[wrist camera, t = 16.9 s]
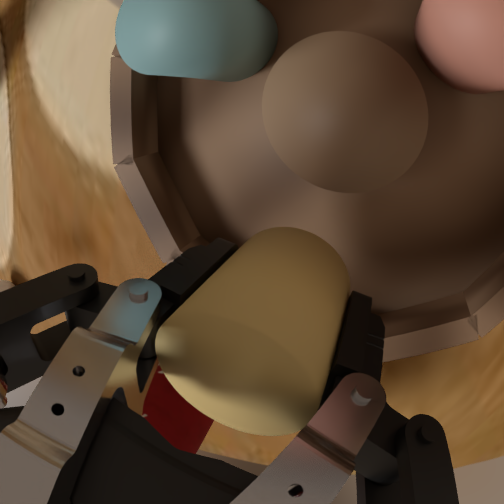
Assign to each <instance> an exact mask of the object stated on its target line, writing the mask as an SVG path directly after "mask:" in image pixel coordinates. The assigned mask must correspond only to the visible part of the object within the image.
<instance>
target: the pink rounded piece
mask: <svg viewBox="0 0 504 504" xmlns="http://www.w3.org/2000/svg"><path fill="white" fill-rule="evenodd" d="M414 37H415V42H416V45H417V48H418V51H419V53H420V55H421V57H422V59H423V60H424V62H425V63H426V65H427V66H428V68H429V69H430V70H431V71H432V72H433V73H434V74H435V75H436V76H437V77H438V78H439V79H440V80H442V81H443V82H444V83H446V84H447V85H449V86H450V87H452V88H454V89H456V90H459V91H462V92H465V93H470V94H483V93H489V92H496V91H503V90H504V0H423V1H422V4H421V6H420V9H419V11H418V14H417V17H416V19H415V24H414Z"/></svg>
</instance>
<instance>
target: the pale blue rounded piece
mask: <svg viewBox="0 0 504 504" xmlns="http://www.w3.org/2000/svg"><path fill="white" fill-rule="evenodd" d="M115 37H116V44H117V48H118V51H119V54H120V56H121V57H122V59H123V60H124V62H125V63H126V64H127V65H128V66H129V67H130V68H132V69H133V70H135V71H137V72H139V73H142V74H146V75H159V76H174V77H186V78H197V79H206V80H214V81H222V82H235V81H240V80H243V79H246V78H248V77H250V76H252V75H254V74H256V73H257V72H258V71H260V70H261V69H262V68H263V67H264V66H265V65H266V64H267V63H268V61H269V60H270V59H271V57H272V55H273V53H274V51H275V49H276V45H277V41H278V29H277V24H276V21H275V19H274V17H273V15H272V14H271V12H270V11H269V10H268V9H267V8H266V7H265V6H264V5H262V4H261V3H260V2H259V1H257V0H124V1H123V3H122V5H121V8H120V10H119V13H118V17H117V21H116V28H115Z"/></svg>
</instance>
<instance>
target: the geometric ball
mask: <svg viewBox="0 0 504 504" xmlns="http://www.w3.org/2000/svg"><path fill="white" fill-rule="evenodd" d="M14 286H15V285H14V284H13V283H12V282H11V281H6V280H2V279H0V292H2V291H4V290H7V289H9V288H12V287H14Z"/></svg>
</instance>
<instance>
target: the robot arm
mask: <svg viewBox="0 0 504 504" xmlns="http://www.w3.org/2000/svg"><path fill="white" fill-rule="evenodd" d="M237 250H238V245H237V244H235V243H232V242H230V241H227V240H224V239H222V238H219V237H218V238H216V239H215V240H214V241H213V242H211V243H210V244H209V245H208V246H203V245H198V246H195V247H192V248H189V249H187V250H186V251H185V252H183V253H182V254H181V255H180V257H179V256H178V257H177V258H175V259H174V260H173V262H170V263H169V264H168V265H166V266H165V267H164V268H162V269H161V270H160V271H159V272H157V273H156V274H155V275H153V276H152V277H151V278H150V279H148V280H147V279H142V278H135V279H130V280H127V281H124V282H123V283H121V284H120V285H119V286H113V285H109V284H106V283H102V282H98V276H97V271H96V270H95V269H94V268H93V267H92V266H90V265H87V264H72V265H69V266H66V267H64V268H61V269H58V270H56V271H53V272H50V273H48V274H45V275H42V276H40V277H37V278H35V279H32V280H29V281H27V282H24V283H22V284H19V285H17V286H14V287H12V288H9V289H7V290H4V291H2V292H0V504H331V502H332V501H333V500H334V498H335V497H336V495H337V494H338V493H339V491H340V490H341V488H342V487H343V485H344V484H345V482H346V481H347V479H348V478H349V476H350V475H351V473H352V472H353V470H355V471H356V483H357V504H459V501H458V494H457V488H456V483H455V478H454V472H453V467H452V462H451V457H450V453H449V448H448V444H447V440H446V436H445V432H444V430H443V428H442V426H441V424H440V423H439V422H438V421H437V420H436V419H435V418H433V417H431V416H429V415H425V414H418V415H415V416H413V417H412V418H411V419H410V420H409V419H407V418H406V417H404V416H403V415H401V414H400V413H398V412H397V411H395V410H394V409H392V408H391V407H390V406H389V405H388V404H387V402H386V394H385V391H384V389H383V387H382V385H381V384H380V379H381V370H382V361H383V348H384V338H385V326H384V324H383V321H382V319H381V316H378V315H376V314H373V313H371V307H372V297H369V296H367V295H364V294H362V293H359V292H357V291H354V290H353V291H352V292H351V294H350V296H349V300H348V304H347V308H346V312H345V317H344V321H343V325H342V329H341V333H340V336H339V340H338V344H337V348H336V351H335V355H334V358H333V362H332V365H331V369H330V372H329V376H328V379H327V383H326V386H325V389H324V392H323V396H322V399H321V402H320V405H319V408H318V411H317V413H316V414H315V415H314V416H313V418H312V419H311V420H310V421H309V422H308V424H307V425H306V426H305V427H304V428H303V429H302V430H301V431H300V432H299V433H298V435H297V436H296V437H295V438H294V439H293V440H292V441H291V442H290V444H289V445H288V446H287V447H286V448H285V449H284V450H283V451H282V452H281V453H280V455H279V456H278V457H277V458H276V459H275V460H274V461H273V462H272V463H271V464H270V465H269V466H268V467H267V468H266V469H265V470H264V471H263V473H261V474H260V475H259V476H256V475H254V474H251V473H249V472H246V471H244V470H242V469H239V468H237V467H235V466H232V465H230V464H228V463H226V462H224V461H222V460H218V459H213V458H209V457H205V456H201V455H197V454H193V453H190V452H186V451H183V450H180V449H177V448H175V447H174V446H173V445H171V444H170V443H169V442H168V441H167V440H166V439H165V438H164V437H163V436H162V435H161V434H160V433H159V432H158V431H157V430H156V429H155V428H154V427H153V426H152V425H151V424H150V423H149V422H148V421H147V420H146V419H145V418H144V417H142V412H143V404H144V400H145V397H146V394H147V391H148V389H149V386H150V384H151V381H152V379H153V376H154V374H155V371H156V369H157V366H158V364H159V362H158V359H157V355H156V350H155V339H156V335H157V332H158V330H159V328H160V327H161V325H162V324H163V323H164V322H165V321H166V320H167V319H168V318H169V317H170V316H171V315H172V314H173V313H174V312H175V311H176V310H177V309H178V308H179V307H180V306H181V305H182V304H183V303H184V302H185V301H186V300H187V299H188V298H189V297H190V296H191V295H192V294H193V293H194V292H195V291H196V290H197V289H198V288H199V287H200V286H201V285H202V284H203V283H204V282H205V281H206V280H207V279H208V278H209V277H210V276H212V275H213V274H214V273H215V272H216V271H217V270H218V269H219V268H220V267H221V266H222V265H223V264H224V263H225V262H226V261H227V260H228V259H229V258H230V257H231V256H232V255H233V254H234V253H235V252H236V251H237ZM62 312H65V315H66V319H67V321H64V322H62V323H60V324H58V325H56V326H53V327H51V328H49V329H47V330H44V331H42V332H40V333H38V334H31V333H30V331H31V329H32V327H33V326H34V325H35V324H37V323H40V322H42V321H44V320H46V319H49V318H51V317H53V316H56V315H58V314H60V313H62ZM41 376H42V378H41V380H40V381H39V383H38V385H37V386H36V388H35V390H34V391H33V393H32V395H31V397H30V398H29V400H28V401H27V403H26V405H25V406H20V407H10V408H4V407H5V406H6V404H7V398H6V393H8V392H10V391H12V390H14V389H16V388H18V387H20V386H22V385H24V384H26V383H29V382H31V381H33V380H35V379H37V378H39V377H41Z"/></svg>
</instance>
